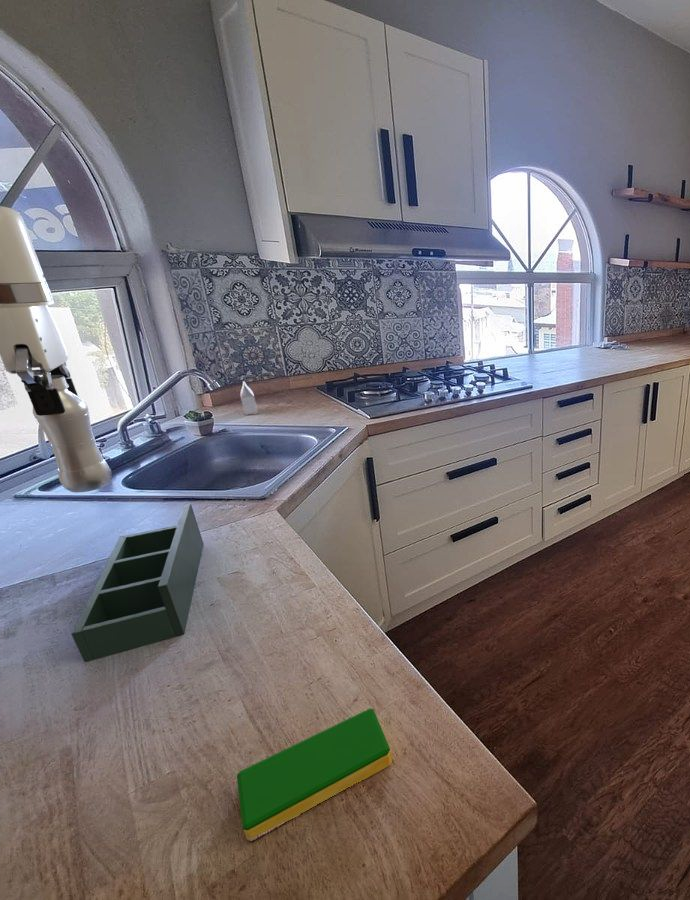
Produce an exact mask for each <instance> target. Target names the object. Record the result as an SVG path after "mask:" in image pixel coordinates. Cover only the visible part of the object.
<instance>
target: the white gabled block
mask: <svg viewBox="0 0 690 900" xmlns="http://www.w3.org/2000/svg"><path fill="white" fill-rule="evenodd" d="M239 395H240V396H239V397H240V400H241V404H242V408H243V412H244V416H249V415H250V416H251V415H257V414H259V411H258V406H257V401H256V399H255V395H254V391H253V390H252V389H251V388H250V387H249V386H248V385H247V383H246V381H245V380H244V381H243V380H242V386H241V389H240V393H239Z"/></svg>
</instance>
